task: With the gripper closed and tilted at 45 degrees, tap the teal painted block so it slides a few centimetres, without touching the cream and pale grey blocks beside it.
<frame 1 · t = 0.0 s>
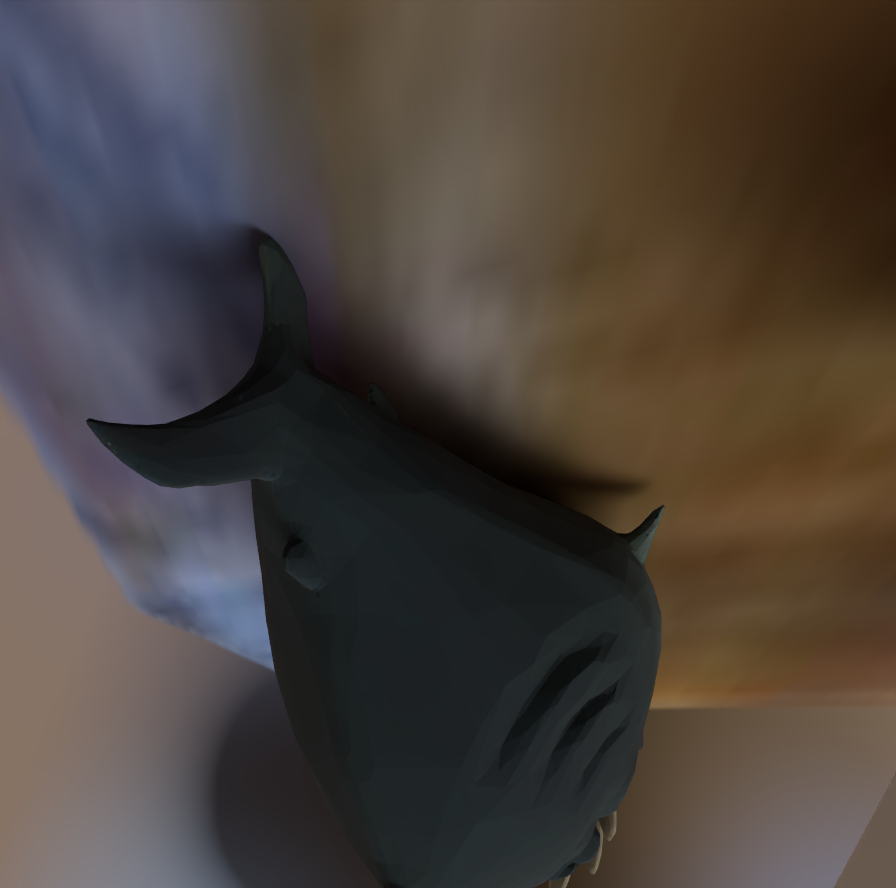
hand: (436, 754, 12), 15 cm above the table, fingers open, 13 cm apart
toy: (463, 472, 36), on the table
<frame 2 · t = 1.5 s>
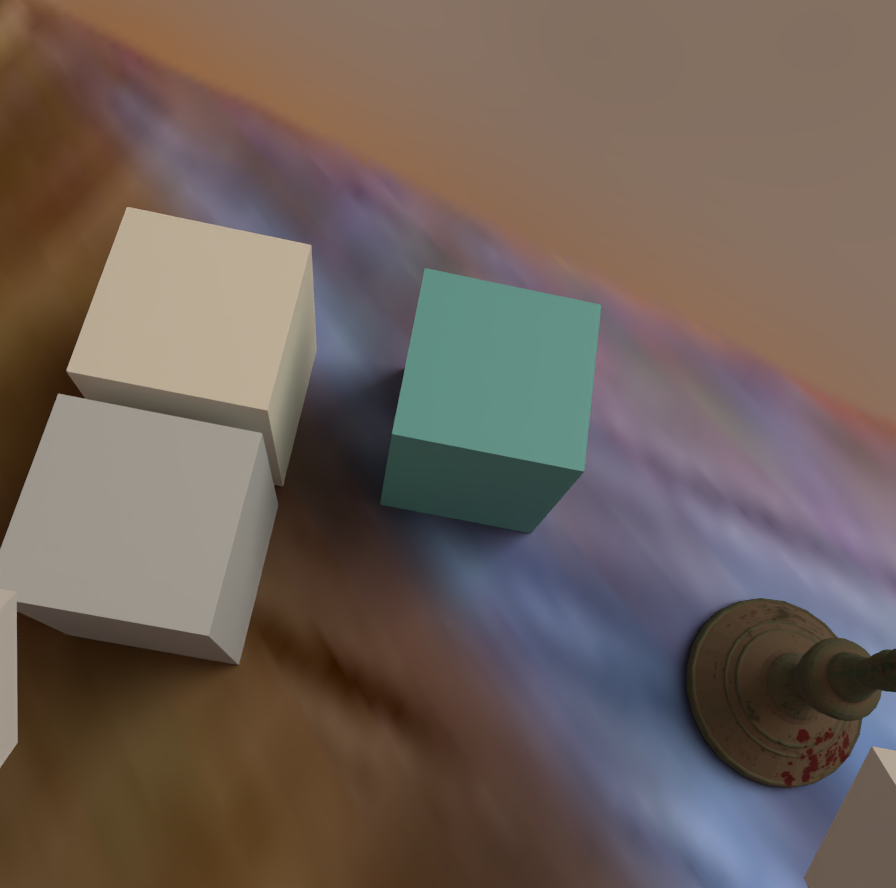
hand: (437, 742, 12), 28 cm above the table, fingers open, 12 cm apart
cream block: (225, 401, 43), on the table
candlestick holder: (769, 690, 42), on the table
grey block: (177, 567, 40), on the table
teal block: (467, 448, 44), on the table
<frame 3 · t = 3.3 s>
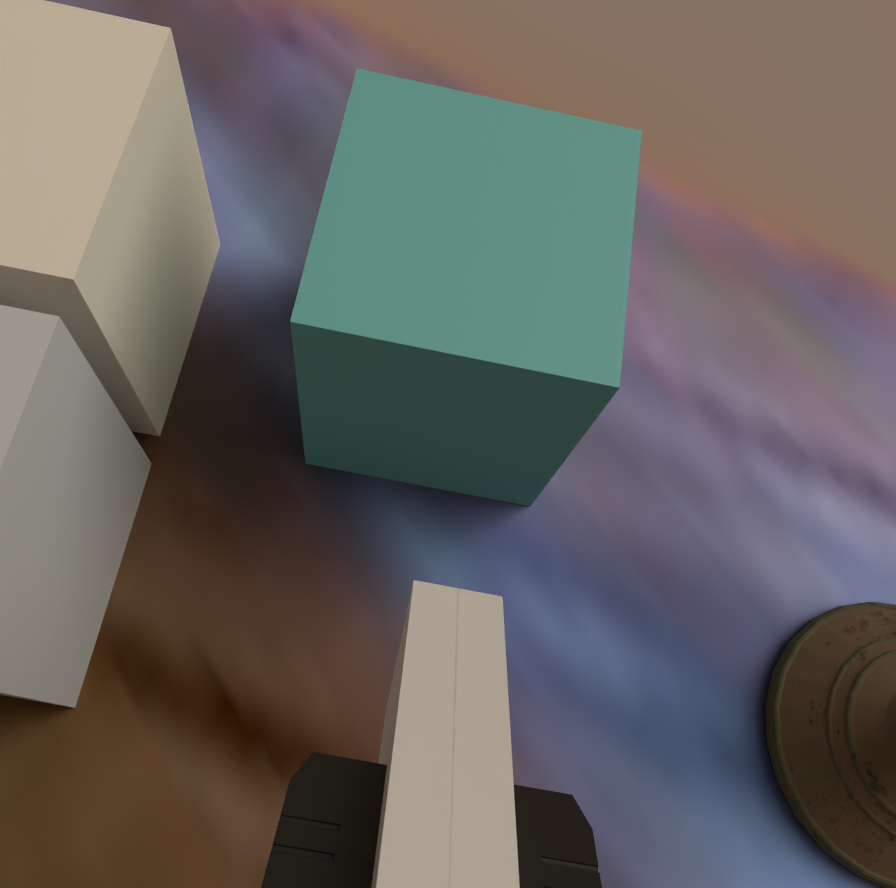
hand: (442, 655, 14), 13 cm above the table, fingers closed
cream block: (80, 314, 30), on the table
candlestick holder: (888, 740, 28), on the table
teal block: (436, 384, 30), on the table
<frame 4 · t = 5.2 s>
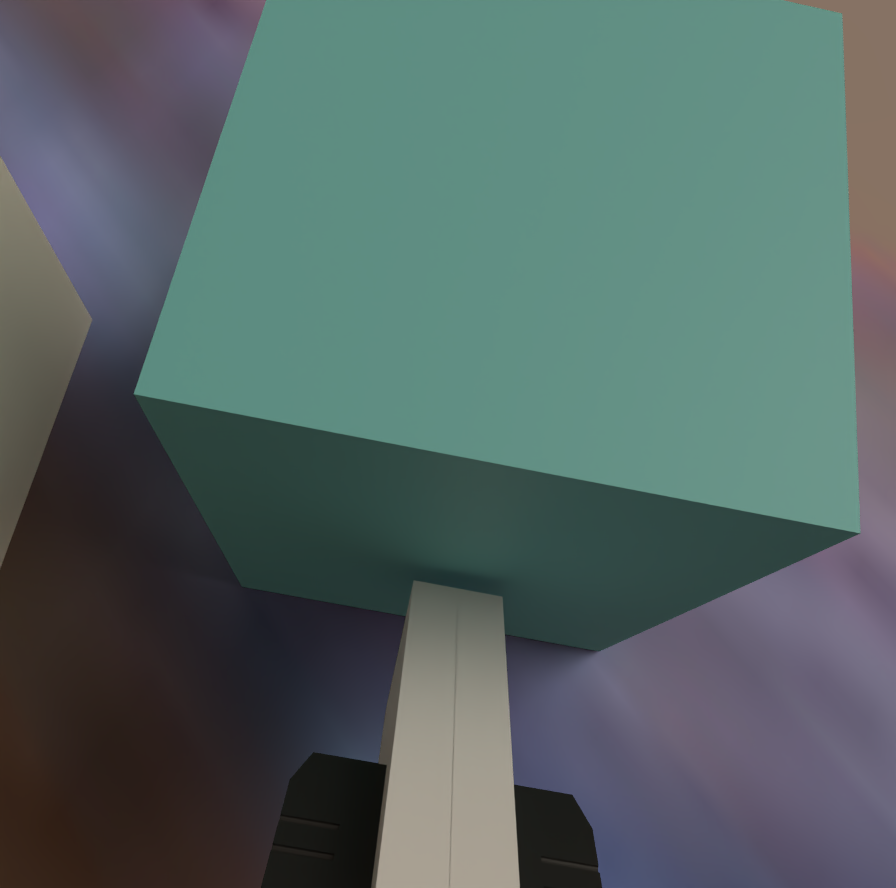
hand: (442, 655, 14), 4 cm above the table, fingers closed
teal block: (450, 452, 20), on the table, touching gripper
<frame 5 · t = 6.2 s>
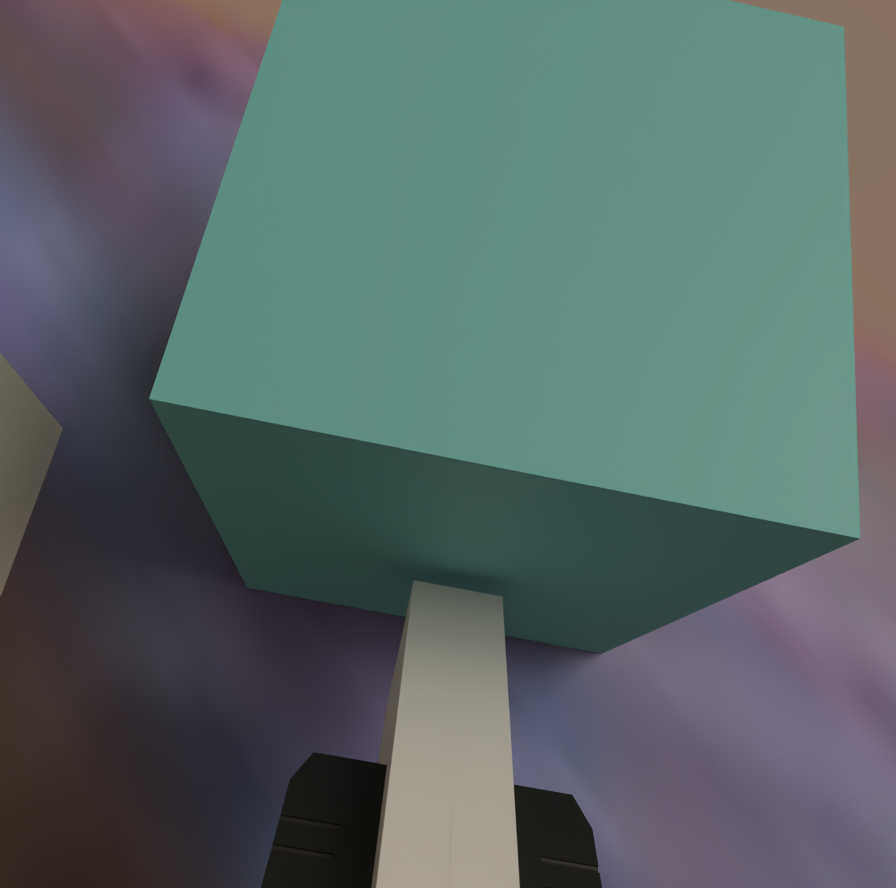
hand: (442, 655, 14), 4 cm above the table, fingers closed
teal block: (454, 456, 20), on the table
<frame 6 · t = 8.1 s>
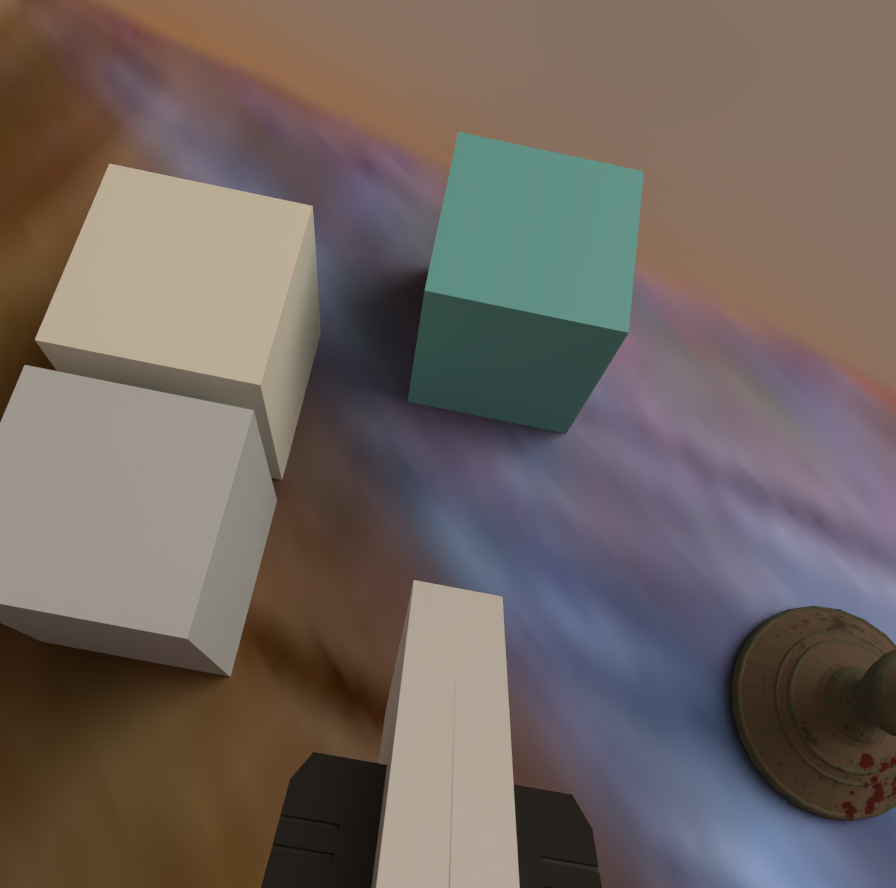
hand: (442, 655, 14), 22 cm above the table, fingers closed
cream block: (220, 387, 40), on the table
candlestick holder: (824, 709, 37), on the table
grey block: (164, 567, 36), on the table
teal block: (498, 348, 42), on the table
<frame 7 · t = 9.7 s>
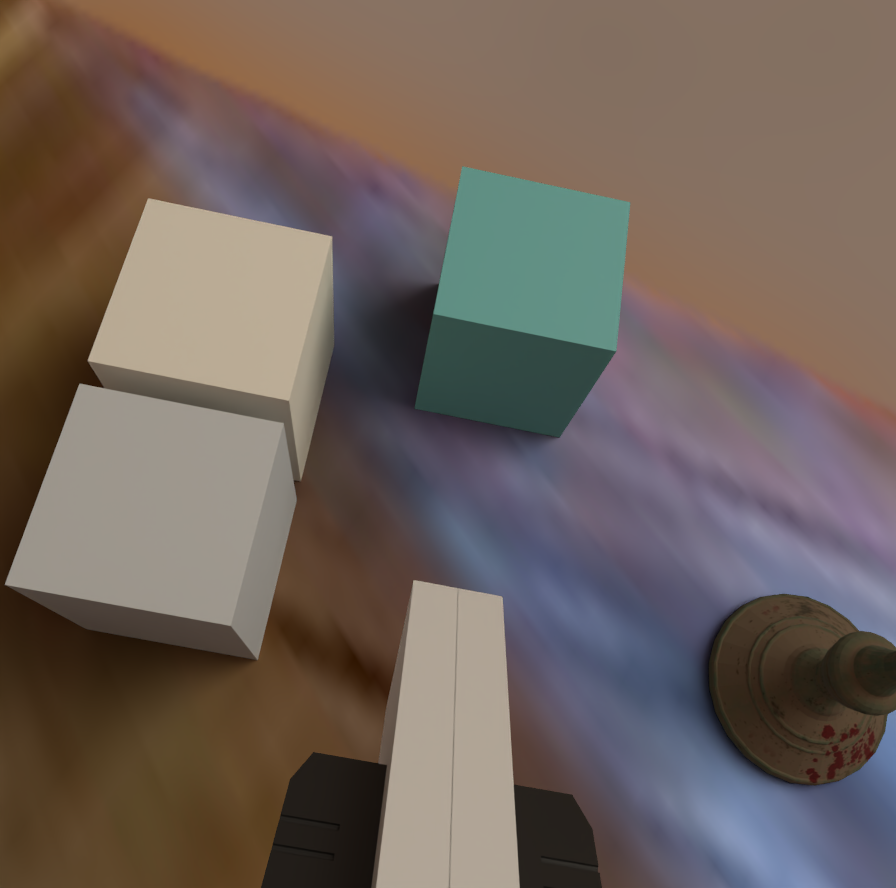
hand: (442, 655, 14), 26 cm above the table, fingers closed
cream block: (243, 396, 43), on the table
candlestick holder: (792, 686, 41), on the table
grey block: (196, 561, 40), on the table
teal block: (497, 358, 46), on the table
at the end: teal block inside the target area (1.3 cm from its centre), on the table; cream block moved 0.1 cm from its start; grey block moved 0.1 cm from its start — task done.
